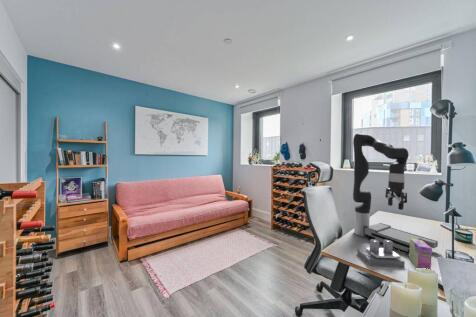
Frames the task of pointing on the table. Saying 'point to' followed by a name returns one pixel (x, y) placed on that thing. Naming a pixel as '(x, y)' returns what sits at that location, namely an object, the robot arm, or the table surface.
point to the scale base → (379, 260)
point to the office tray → (395, 237)
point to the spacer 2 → (388, 246)
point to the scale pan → (383, 254)
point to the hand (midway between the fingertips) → (395, 207)
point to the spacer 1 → (374, 246)
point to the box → (420, 253)
